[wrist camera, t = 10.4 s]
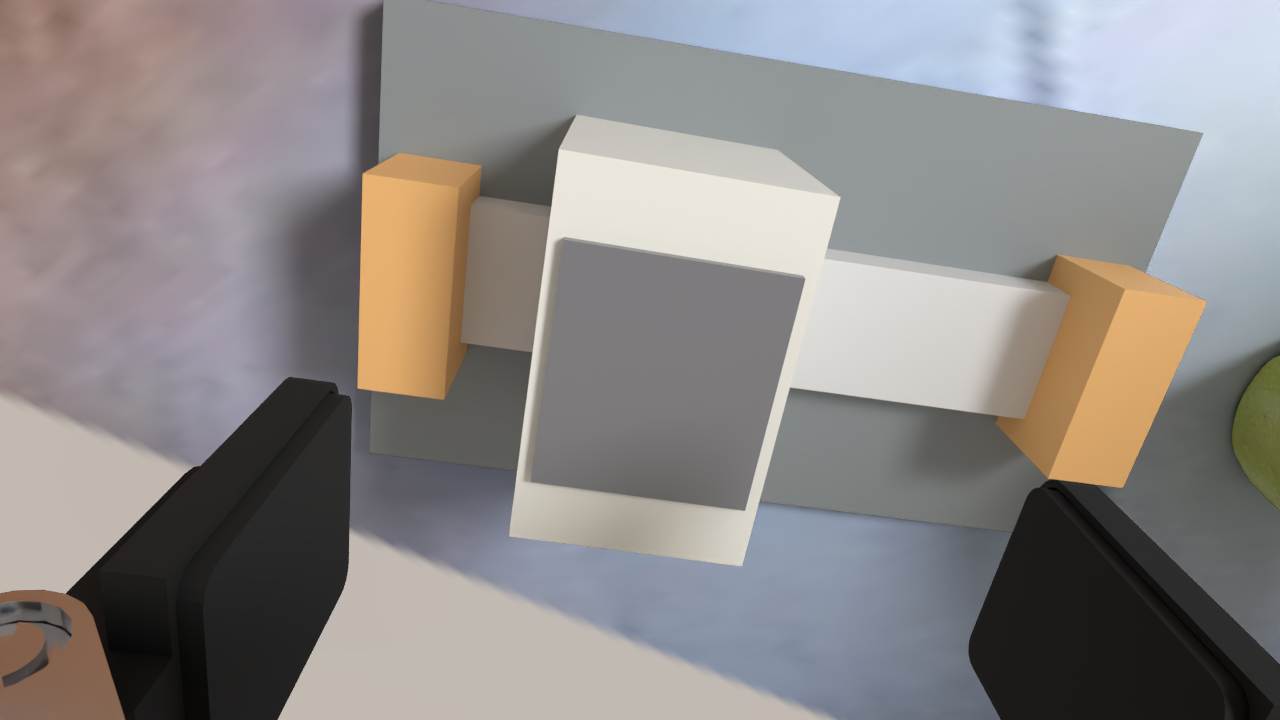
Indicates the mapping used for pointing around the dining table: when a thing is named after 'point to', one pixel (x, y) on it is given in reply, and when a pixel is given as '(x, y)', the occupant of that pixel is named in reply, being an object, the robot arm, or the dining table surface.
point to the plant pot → (1260, 431)
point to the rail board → (850, 276)
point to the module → (665, 339)
